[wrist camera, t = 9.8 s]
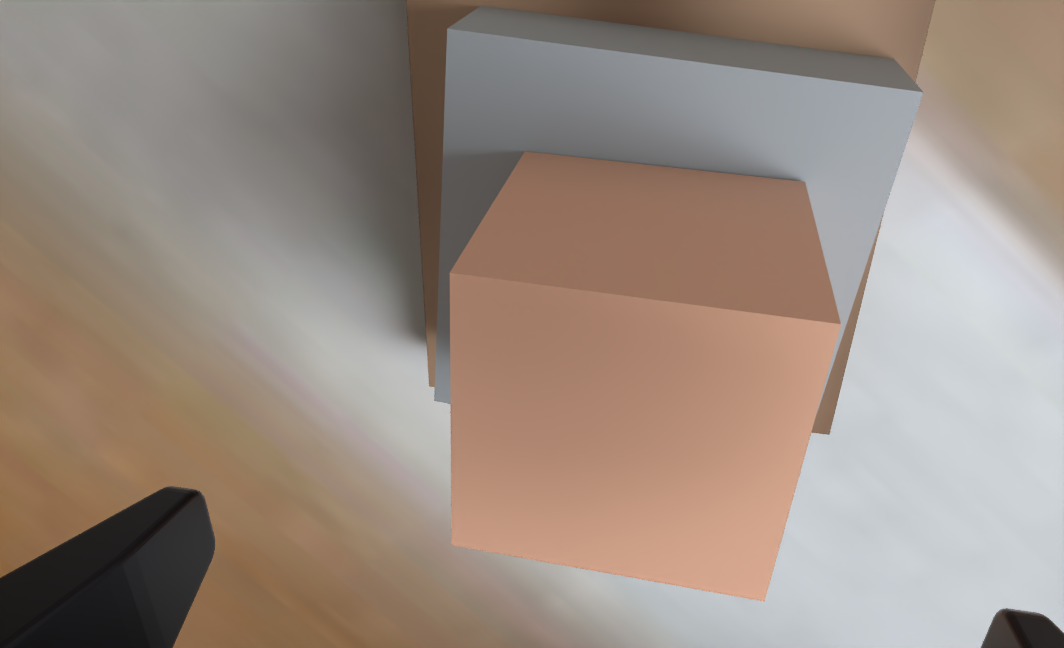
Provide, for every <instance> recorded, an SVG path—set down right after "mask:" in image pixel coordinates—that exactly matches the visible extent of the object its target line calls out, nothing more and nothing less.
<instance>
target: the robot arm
mask: <svg viewBox="0 0 1064 648" xmlns="http://www.w3.org/2000/svg"><path fill="white" fill-rule="evenodd" d="M214 550H215V536H214V532H213V528H212V525H211V521H210V517H209V513H208V509H207V505H206V501H205V498H204V496H203V495H202V493H201V492H200V491H198V490H195V489H188V488H181V487H174V486H170V487H165V488H163V489H161V490H159V491H157V492H155V493H153V494H151V495H150V496H148V497H146V498H144V499H142V500H141V501H139V502H137V503H135V504H133V505H131V506H130V507H128V508H126V509H124V510H122V511H121V512H119V513H117V514H115V515H113V516H112V517H110V518H108V519H106V520H104V521H102V522H101V523H99V524H97V525H95V526H93V527H92V528H90V529H88V530H86V531H84V532H83V533H81V534H79V535H77V536H75V537H74V538H72V539H70V540H68V541H66V542H64V543H63V544H61V545H59V546H57V547H55V548H54V549H52V550H50V551H48V552H46V553H45V554H43V555H41V556H39V557H37V558H35V559H34V560H32V561H30V562H28V563H26V564H25V565H23V566H21V567H19V568H17V569H16V570H14V571H12V572H10V573H8V574H6V575H5V576H3V577H1V578H0V648H173V645H174V643H175V641H176V639H177V636H178V634H179V632H180V630H181V628H182V625H183V623H184V621H185V619H186V616H187V614H188V612H189V610H190V607H191V605H192V603H193V601H194V599H195V596H196V594H197V592H198V590H199V587H200V585H201V583H202V581H203V579H204V576H205V574H206V572H207V570H208V567H209V565H210V563H211V561H212V558H213V555H214ZM981 648H1064V633H1063V632H1062V631H1061V630H1060V629H1059V628H1058V627H1057V626H1056V625H1055V624H1054V623H1053V622H1052V621H1051V620H1050V619H1049V618H1047V617H1046V616H1044V615H1042V614H1039V613H1035V612H1028V611H1021V610H1014V609H1007V608H1006V609H1001V610H1000V611H998V612H997V613H996V615H995V616H994V618H993V621H992V623H991V625H990V627H989V630H988V632H987V634H986V637H985V639H984V641H983V644H982V646H981Z"/></svg>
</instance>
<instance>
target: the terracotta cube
mask: <svg viewBox="0 0 1064 648" xmlns="http://www.w3.org/2000/svg"><path fill="white" fill-rule="evenodd" d="M840 327H841V322H840V318H839V314H838V310H837V306H836V302H835V298H834V294H833V290H832V286H831V282H830V278H829V274H828V270H827V266H826V262H825V258H824V254H823V250H822V246H821V243H820V239H819V235H818V231H817V227H816V223H815V219H814V215H813V211H812V207H811V203H810V199H809V195H808V191H807V187H806V183H805V182H802V181H793V180H784V179H775V178H766V177H756V176H747V175H738V174H729V173H719V172H710V171H701V170H692V169H683V168H673V167H664V166H655V165H646V164H637V163H627V162H618V161H609V160H600V159H591V158H581V157H572V156H563V155H554V154H545V153H535V152H526V151H525V152H524V154H523V155H522V157H521V158H520V160H519V162H518V163H517V165H516V166H515V168H514V170H513V171H512V173H511V175H510V176H509V178H508V179H507V181H506V183H505V184H504V186H503V187H502V189H501V191H500V192H499V194H498V196H497V197H496V199H495V200H494V202H493V204H492V205H491V207H490V208H489V210H488V212H487V213H486V215H485V216H484V218H483V220H482V221H481V223H480V225H479V226H478V228H477V229H476V231H475V233H474V234H473V236H472V237H471V239H470V241H469V242H468V244H467V246H466V247H465V249H464V250H463V252H462V254H461V255H460V257H459V258H458V260H457V262H456V263H455V265H454V267H453V268H452V270H451V271H450V388H451V520H452V545H454V546H459V547H465V548H470V549H476V550H482V551H487V552H493V553H498V554H504V555H509V556H515V557H521V558H526V559H532V560H537V561H543V562H548V563H554V564H559V565H565V566H571V567H576V568H582V569H587V570H593V571H598V572H604V573H609V574H615V575H621V576H626V577H632V578H637V579H643V580H648V581H654V582H659V583H665V584H671V585H676V586H682V587H687V588H693V589H698V590H704V591H709V592H715V593H721V594H726V595H732V596H737V597H743V598H748V599H754V600H759V601H765V598H766V594H767V590H768V587H769V583H770V580H771V576H772V572H773V569H774V565H775V561H776V558H777V554H778V551H779V547H780V543H781V540H782V536H783V533H784V529H785V525H786V522H787V518H788V515H789V511H790V507H791V504H792V500H793V496H794V493H795V489H796V486H797V482H798V478H799V475H800V471H801V468H802V464H803V460H804V457H805V453H806V449H807V446H808V442H809V439H810V435H811V431H812V428H813V424H814V421H815V417H816V413H817V410H818V406H819V403H820V399H821V395H822V392H823V388H824V384H825V381H826V377H827V374H828V370H829V366H830V363H831V359H832V356H833V352H834V348H835V345H836V341H837V337H838V334H839V330H840Z"/></svg>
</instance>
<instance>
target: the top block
mask: <svg viewBox="0 0 1064 648" xmlns="http://www.w3.org/2000/svg"><path fill="white" fill-rule="evenodd" d="M922 95H923V91H922V90H921V89H920V88H919V87H918V85H917V84H916V83H915V82H914V81H913V80H912V79H911V77H910V76H909V75H908V74H907V73H906V72H905V71H904V69H903V68H902V67H901V66H900V65H899V64H898V62H897V61H896V60H895V59H890V58H883V57H875V56H867V55H859V54H852V53H844V52H836V51H829V50H821V49H813V48H805V47H798V46H790V45H782V44H775V43H767V42H759V41H751V40H744V39H736V38H728V37H721V36H713V35H705V34H697V33H690V32H682V31H674V30H666V29H659V28H651V27H643V26H636V25H628V24H620V23H612V22H605V21H597V20H589V19H582V18H574V17H566V16H558V15H551V14H543V13H535V12H527V11H520V10H512V9H504V8H497V7H489V6H480V7H478V8H477V9H475V10H474V11H472V12H471V13H470V14H468V15H467V16H465V17H464V18H462V19H461V20H459V21H458V22H456V23H455V24H453V25H452V26H450V27H449V28H448V29H447V49H446V77H445V106H444V135H443V164H442V193H441V222H440V251H439V280H438V309H437V338H436V366H435V395H434V401H438V402H444V403H449V404H451V388H450V271H451V270H452V268H453V267H454V265H455V263H456V262H457V260H458V258H459V257H460V255H461V254H462V252H463V250H464V249H465V247H466V246H467V244H468V242H469V241H470V239H471V237H472V236H473V234H474V233H475V231H476V229H477V228H478V226H479V225H480V223H481V221H482V220H483V218H484V216H485V215H486V213H487V212H488V210H489V208H490V207H491V205H492V204H493V202H494V200H495V199H496V197H497V196H498V194H499V192H500V191H501V189H502V187H503V186H504V184H505V183H506V181H507V179H508V178H509V176H510V175H511V173H512V171H513V170H514V168H515V166H516V165H517V163H518V162H519V160H520V158H521V157H522V155H523V154H524V152H525V151H526V152H535V153H545V154H554V155H563V156H572V157H581V158H591V159H600V160H609V161H618V162H627V163H637V164H646V165H655V166H664V167H673V168H683V169H692V170H701V171H710V172H719V173H729V174H738V175H747V176H756V177H766V178H775V179H784V180H793V181H802V182H805V183H806V187H807V191H808V195H809V199H810V203H811V207H812V211H813V215H814V219H815V223H816V227H817V231H818V235H819V239H820V243H821V246H822V250H823V254H824V258H825V262H826V266H827V270H828V274H829V278H830V282H831V286H832V290H833V294H834V298H835V302H836V306H837V310H838V314H839V318H840V322H841V327H840V330H839V334H838V337H837V341H836V345H835V348H834V352H833V356H832V359H831V363H830V366H829V370H828V374H827V377H826V381H825V384H824V388H823V392H822V395H821V399H820V403H821V400H822V396H823V393H824V390H825V387H826V384H827V381H828V378H829V375H830V372H831V369H832V366H833V363H834V360H835V357H836V354H837V351H838V348H839V345H840V342H841V339H842V336H843V333H844V330H845V327H846V324H847V321H848V318H849V315H850V312H851V309H852V306H853V303H854V300H855V297H856V294H857V291H858V288H859V285H860V282H861V279H862V276H863V273H864V270H865V267H866V264H867V261H868V258H869V255H870V252H871V249H872V246H873V243H874V240H875V237H876V234H877V231H878V228H879V225H880V222H881V219H882V216H883V213H884V210H885V207H886V204H887V201H888V198H889V195H890V192H891V189H892V186H893V183H894V180H895V177H896V174H897V171H898V167H899V164H900V161H901V158H902V155H903V152H904V149H905V146H906V143H907V140H908V137H909V134H910V131H911V128H912V125H913V122H914V119H915V116H916V113H917V110H918V107H919V104H920V101H921V98H922ZM820 403H819V406H820ZM819 406H818V409H819ZM817 412H818V410H817ZM816 415H817V413H816ZM815 418H816V417H815Z"/></svg>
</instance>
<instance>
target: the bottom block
mask: <svg viewBox="0 0 1064 648" xmlns="http://www.w3.org/2000/svg"><path fill="white" fill-rule="evenodd" d="M934 4H935V0H406V6H407V22H408V39H409V56H410V72H411V89H412V106H413V122H414V139H415V156H416V172H417V189H418V206H419V223H420V239H421V256H422V273H423V289H424V306H425V323H426V339H427V356H428V373H429V386H431V387H435V366H436V338H437V309H438V280H439V251H440V222H441V193H442V164H443V135H444V106H445V77H446V49H447V29H448V28H449V27H450V26H452V25H453V24H455V23H456V22H458V21H459V20H461V19H462V18H464V17H465V16H467V15H468V14H470V13H471V12H472V11H474V10H475V9H477V8H478V7H480V6H489V7H497V8H504V9H512V10H520V11H527V12H535V13H543V14H551V15H558V16H566V17H574V18H582V19H589V20H597V21H605V22H612V23H620V24H628V25H636V26H643V27H651V28H659V29H666V30H674V31H682V32H690V33H697V34H705V35H713V36H721V37H728V38H736V39H744V40H751V41H759V42H767V43H775V44H782V45H790V46H798V47H805V48H813V49H821V50H829V51H836V52H844V53H852V54H859V55H867V56H875V57H883V58H890V59H895V60H896V61H897V62H898V64H899V65H900V66H901V67H902V68H903V69H904V71H905V72H906V73H907V74H908V75H909V76H910V77H911V79H912V80H913V81H914V82H916V78H917V74H918V69H919V65H920V61H921V57H922V53H923V49H924V45H925V41H926V37H927V33H928V28H929V24H930V20H931V16H932V12H933V8H934ZM882 217H883V216H882ZM881 221H882V219H881ZM880 225H881V222H880ZM880 225H879V228H878V231H877V234H876V237H875V240H874V243H873V246H872V249H871V252H870V255H869V258H868V261H867V264H866V267H865V270H864V273H863V276H862V279H861V282H860V285H859V288H858V291H857V294H856V297H855V300H854V303H853V306H852V309H851V312H850V315H849V318H848V321H847V324H846V327H845V330H844V333H843V336H842V339H841V342H840V345H839V348H838V351H837V354H836V357H835V360H834V363H833V366H832V369H831V372H830V375H829V378H828V381H827V384H826V387H825V390H824V393H823V396H822V400H821V403H820V406H819V409H818V412H817V415H816V418H815V421H814V424H813V428H812V431H811V432H812V433H820V434H828V435H829V434H830V430H831V425H832V421H833V417H834V413H835V409H836V405H837V401H838V397H839V393H840V389H841V385H842V380H843V376H844V372H845V368H846V364H847V360H848V356H849V352H850V348H851V344H852V340H853V335H854V331H855V327H856V323H857V319H858V315H859V311H860V307H861V303H862V299H863V295H864V290H865V286H866V282H867V278H868V274H869V270H870V266H871V262H872V258H873V254H874V249H875V245H876V241H877V237H878V233H879V229H880Z"/></svg>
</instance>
